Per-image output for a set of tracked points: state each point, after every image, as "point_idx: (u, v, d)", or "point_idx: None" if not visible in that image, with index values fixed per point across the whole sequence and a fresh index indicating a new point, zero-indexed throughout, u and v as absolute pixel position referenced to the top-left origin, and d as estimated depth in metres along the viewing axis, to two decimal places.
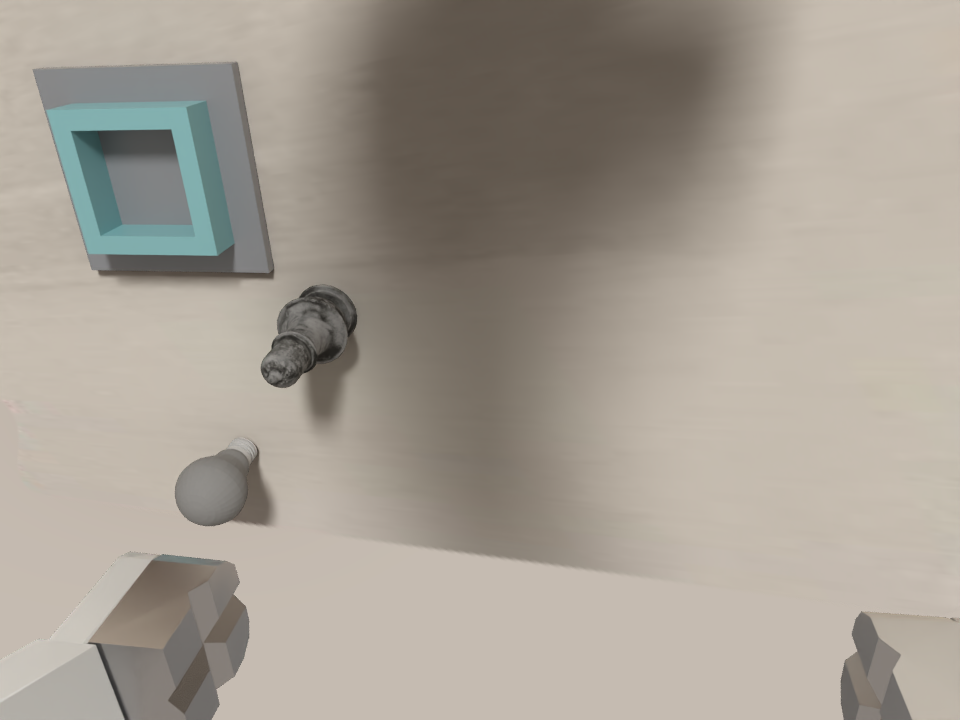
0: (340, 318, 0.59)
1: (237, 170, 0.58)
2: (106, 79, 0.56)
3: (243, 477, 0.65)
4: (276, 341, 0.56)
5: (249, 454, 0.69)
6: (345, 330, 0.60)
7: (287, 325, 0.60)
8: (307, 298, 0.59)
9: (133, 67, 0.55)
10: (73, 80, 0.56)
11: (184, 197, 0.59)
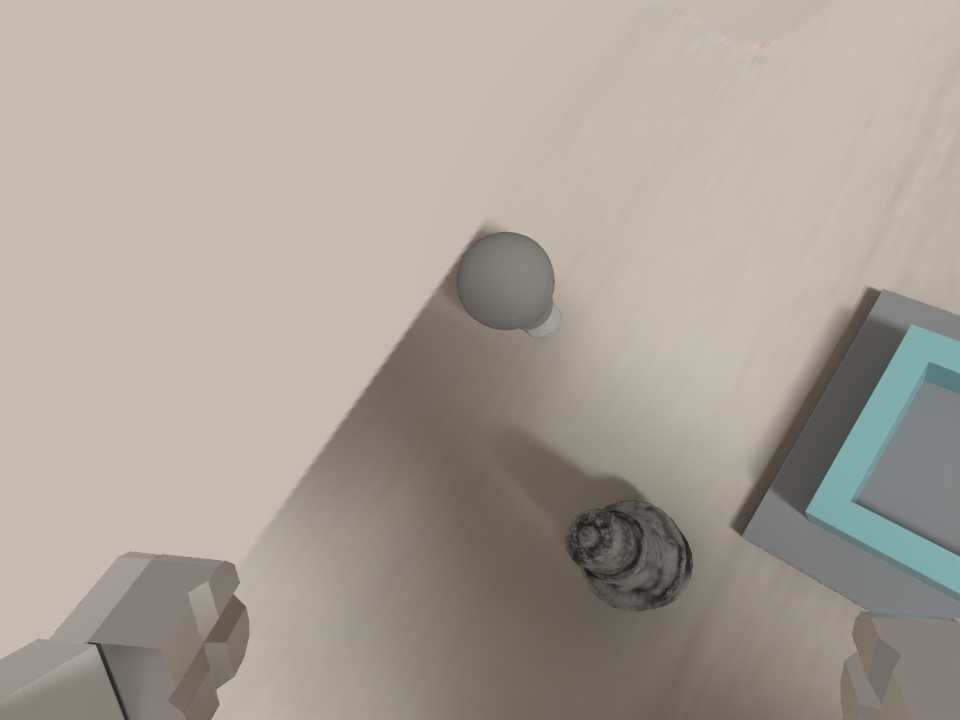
0: (625, 609, 0.40)
1: (911, 609, 0.37)
2: None
3: (500, 329, 0.46)
4: (639, 535, 0.37)
5: (531, 330, 0.50)
6: (607, 602, 0.40)
7: (656, 533, 0.40)
8: (676, 585, 0.39)
9: None
10: None
11: (914, 499, 0.38)
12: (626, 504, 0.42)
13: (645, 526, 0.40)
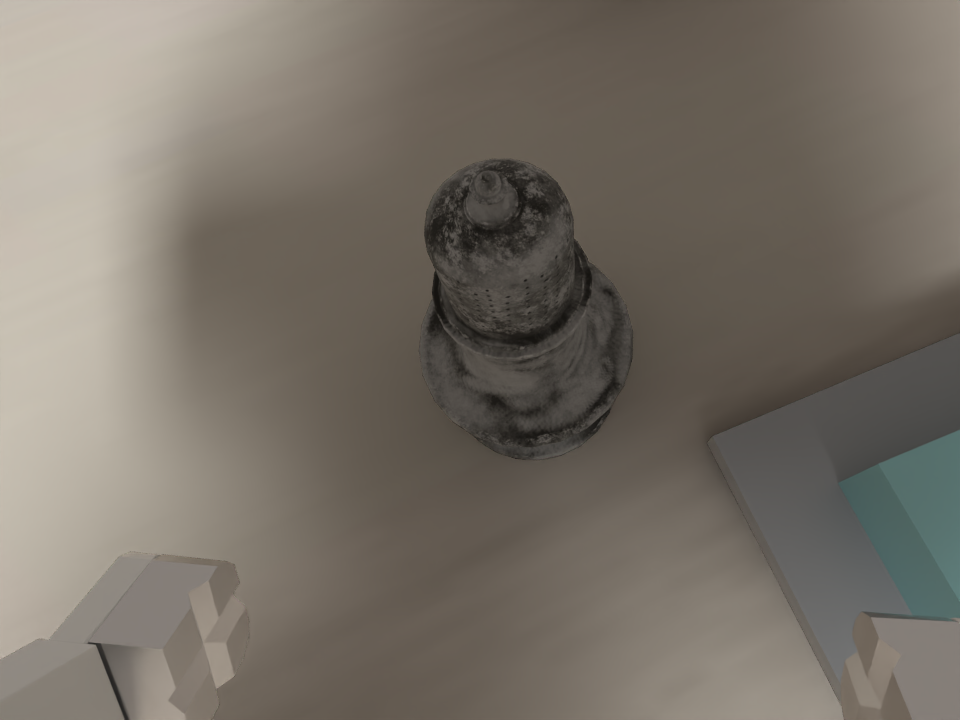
0: (453, 417, 0.20)
1: None
2: None
3: None
4: (578, 299, 0.16)
5: None
6: (430, 387, 0.20)
7: (593, 334, 0.20)
8: (563, 437, 0.20)
9: None
10: None
11: None
12: None
13: None
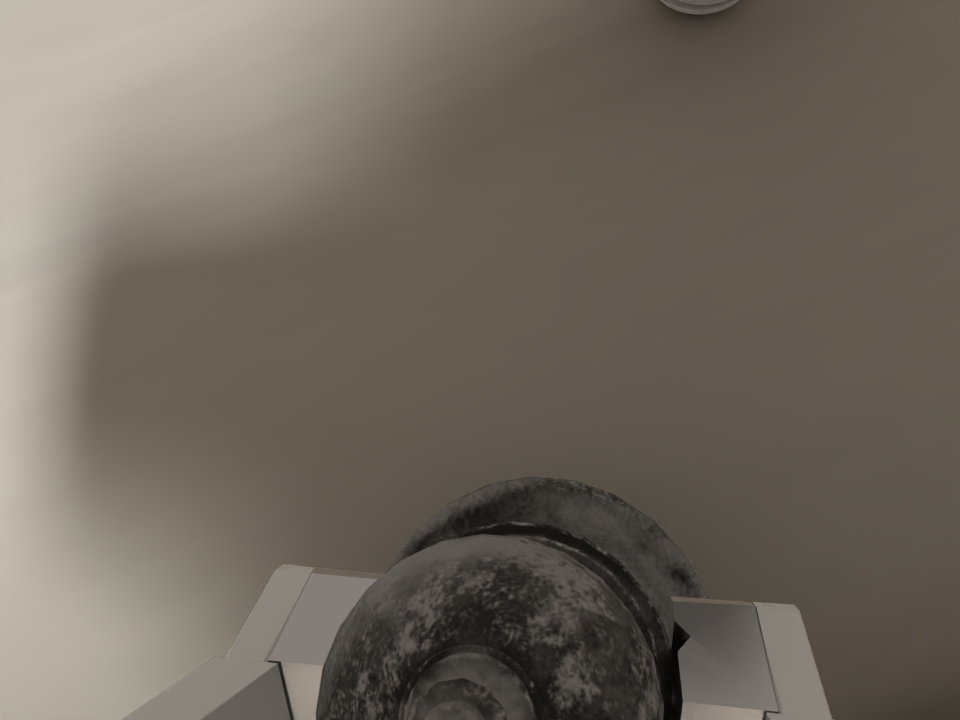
0: None
1: None
2: None
3: None
4: None
5: None
6: None
7: None
8: None
9: None
10: None
11: None
12: (625, 515, 0.13)
13: None
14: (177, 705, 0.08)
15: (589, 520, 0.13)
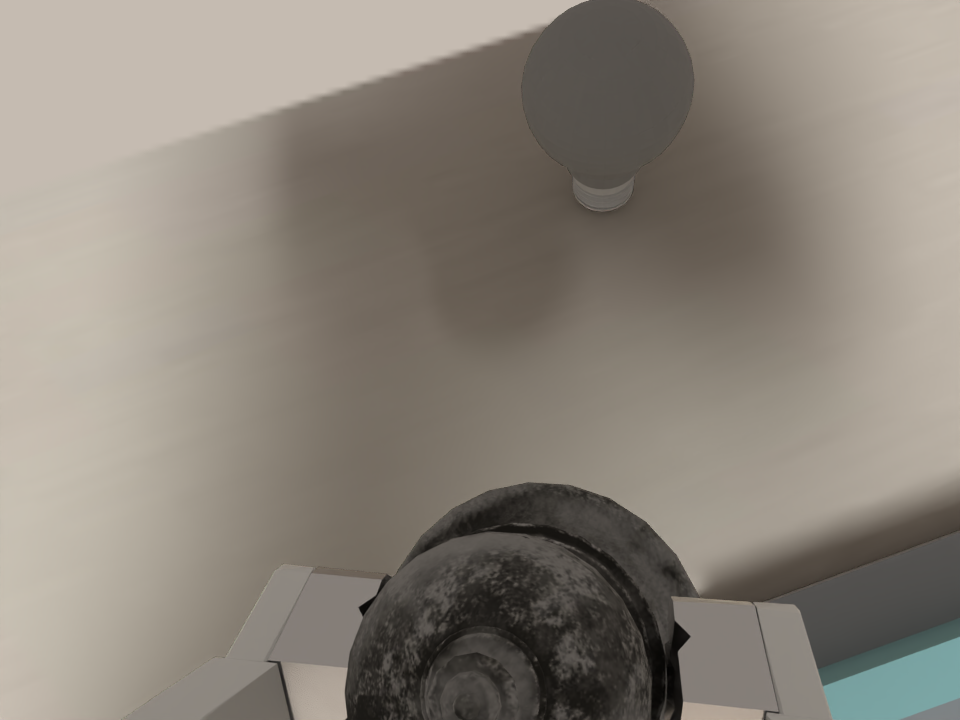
0: None
1: None
2: None
3: (546, 152, 0.27)
4: None
5: (579, 186, 0.31)
6: None
7: None
8: None
9: None
10: None
11: None
12: (618, 516, 0.14)
13: None
14: (177, 705, 0.08)
15: (585, 522, 0.14)
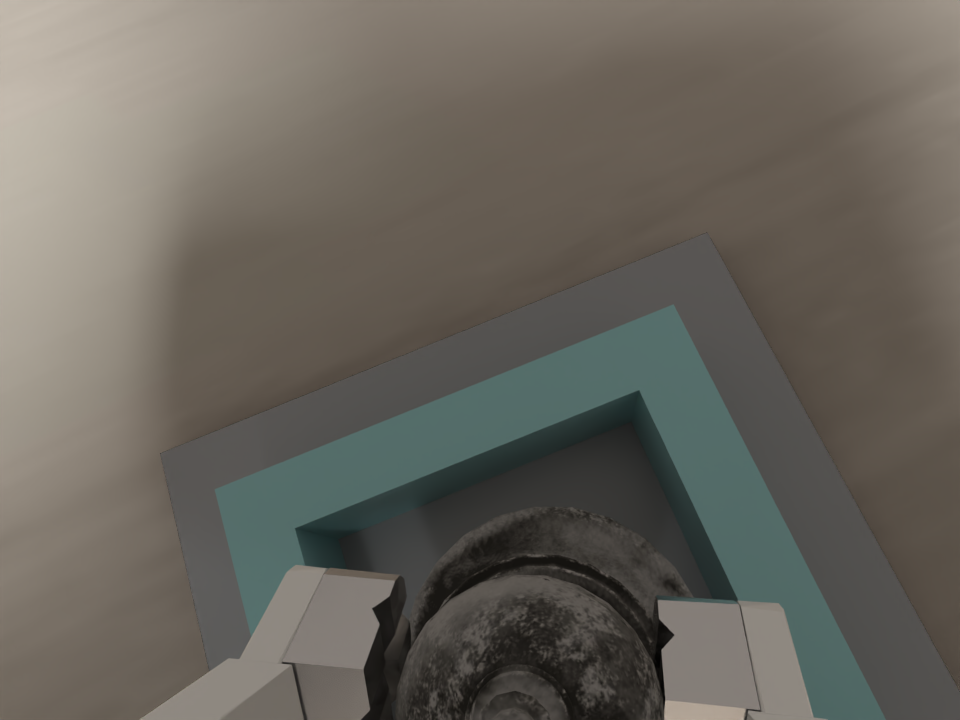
0: None
1: None
2: None
3: None
4: None
5: None
6: None
7: None
8: None
9: None
10: None
11: None
12: (619, 535, 0.15)
13: None
14: (192, 706, 0.08)
15: (589, 542, 0.14)
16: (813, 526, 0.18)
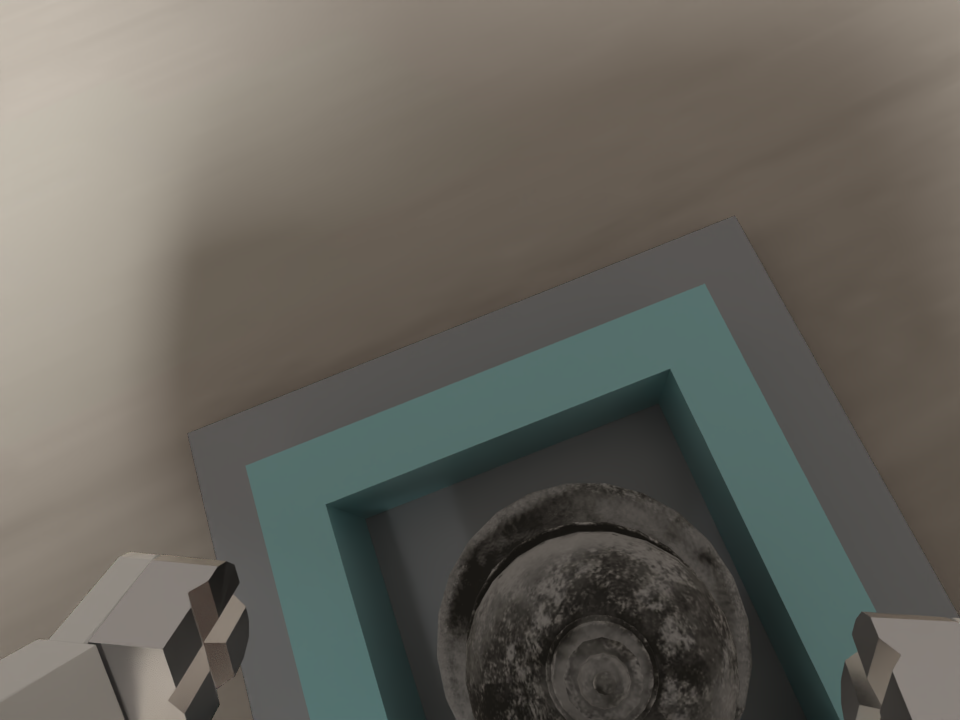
0: None
1: None
2: None
3: None
4: None
5: None
6: (458, 717, 0.14)
7: None
8: None
9: None
10: None
11: None
12: (653, 509, 0.15)
13: None
14: None
15: (623, 517, 0.14)
16: (842, 509, 0.18)
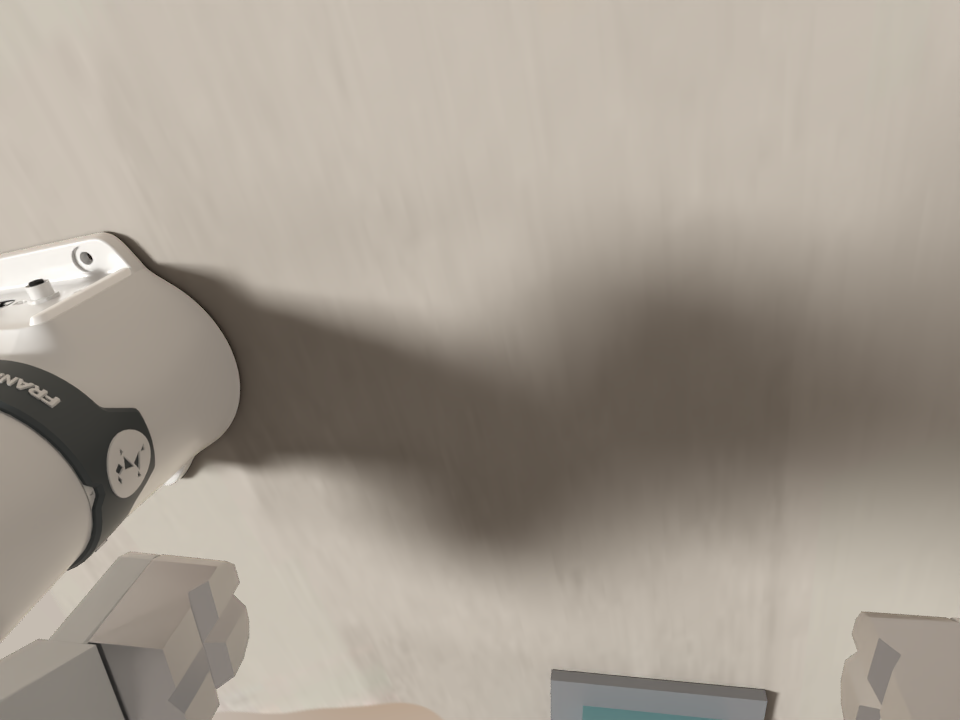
0: None
1: (650, 699, 0.57)
2: None
3: None
4: None
5: None
6: None
7: None
8: None
9: None
10: None
11: None
12: None
13: None
14: None
15: None
16: None
